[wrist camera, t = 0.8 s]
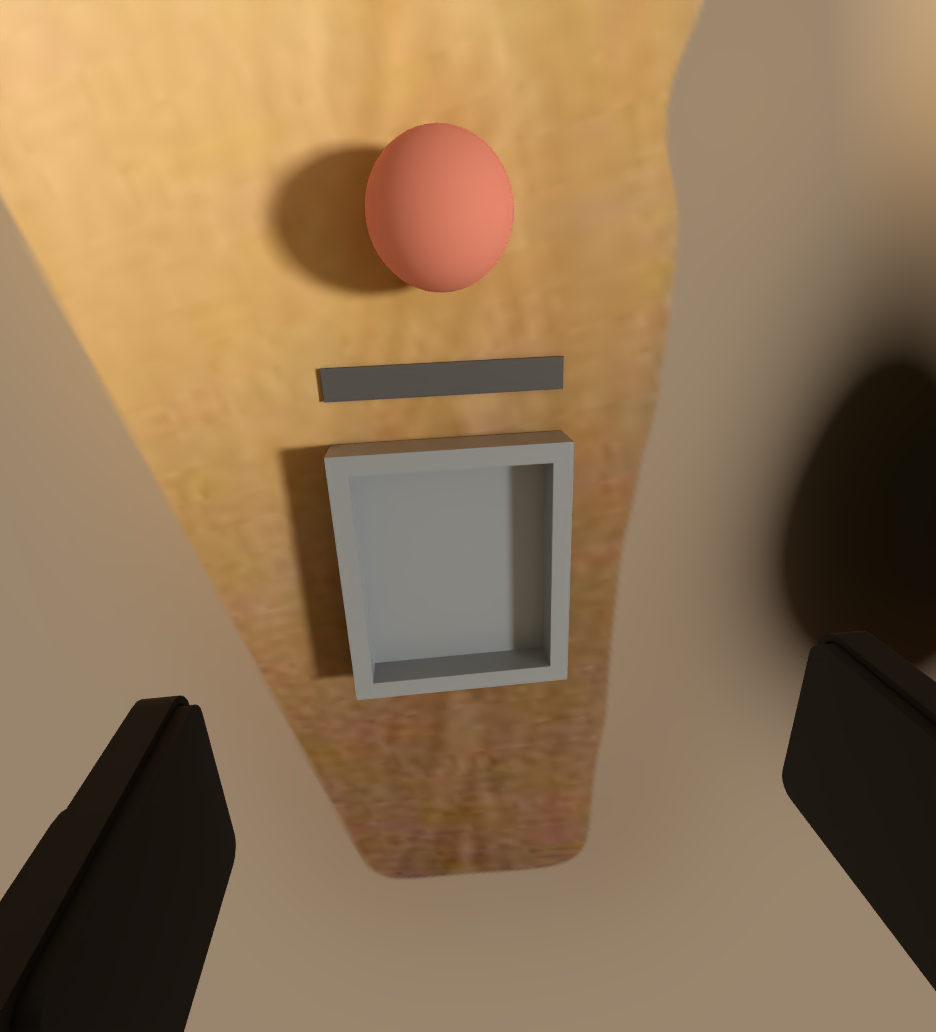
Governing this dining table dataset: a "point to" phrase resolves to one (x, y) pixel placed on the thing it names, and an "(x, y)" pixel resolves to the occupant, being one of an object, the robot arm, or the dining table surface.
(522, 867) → the dining table surface
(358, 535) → the tray
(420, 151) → the ball
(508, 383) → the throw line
